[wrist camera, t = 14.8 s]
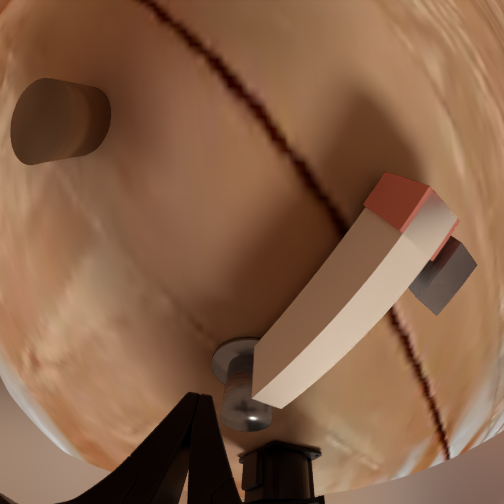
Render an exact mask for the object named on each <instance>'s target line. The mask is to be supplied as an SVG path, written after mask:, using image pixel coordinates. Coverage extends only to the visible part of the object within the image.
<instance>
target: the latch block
mask: <svg viewBox="0 0 504 504" xmlns="http://www.w3.org/2000/svg"><path fill="white" fill-rule="evenodd" d="M476 266H477V264H476V262H475V261H474V259H473V258H472V256H471V255H470V254H469V252H468V251H467V249H466V248H465V247H464V245H463V244H462V243H461V242H460V241H458V240H457V239H455V238H454V237H452V236H450V237H449V239H448V240H447V242H446V243H445V245H444V246H443V248H442V249H441V250H440V252H439V253H438V255H437V256H436V257H435V259H434V260H433V261H431V260H429V261H428V262H427V264H426V265H425V266H424V268H423V269H422V270H421V271H420V273H419V274H418V275H417V277H416V278H415V279H414V280H413V282H412V283H411V284H410V285H409V287H408V288H409V289H410V290H411V292H412V293H413V294H414V295H415V296H416V298H417V299H418V300H419V301H421V302H422V303H423V304H424V305H425V306H426V307H427V308H429V309H430V310H431V311H432V312H433V313H434V314H435V315H436V316H437V315H438V314H439V313H440V312H441V311H442V309H443V308H444V307H445V306H446V305H447V304H448V302H449V301H450V300H451V299H452V298H453V296H454V295H455V294H456V293H457V291H458V290H459V289H460V288H461V286H462V285H463V284H464V282H465V281H466V280H467V278H468V277H469V276H470V274H471V273H472V272H473V270H474V269H475V267H476Z"/></svg>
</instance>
